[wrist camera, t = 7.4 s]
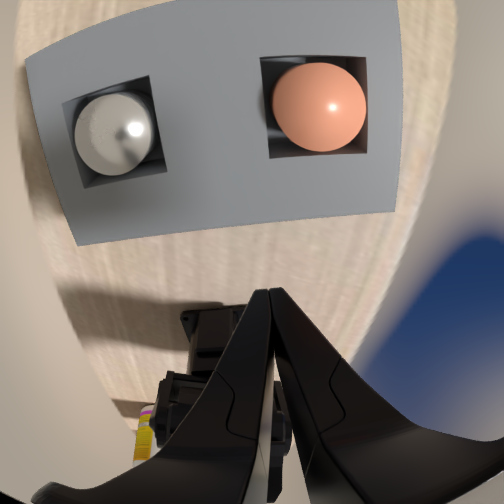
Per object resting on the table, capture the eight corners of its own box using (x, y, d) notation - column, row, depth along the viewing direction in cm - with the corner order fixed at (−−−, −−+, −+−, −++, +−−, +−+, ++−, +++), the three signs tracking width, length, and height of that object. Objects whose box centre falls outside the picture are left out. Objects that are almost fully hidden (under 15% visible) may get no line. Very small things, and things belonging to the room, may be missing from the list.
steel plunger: (170, 150, 16) (157, 167, 14) (107, 164, 16) (86, 182, 14) (157, 81, 14) (141, 84, 11) (92, 100, 14) (67, 108, 11)
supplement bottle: (141, 416, 38) (130, 490, 28) (140, 399, 35) (127, 484, 24) (183, 424, 40) (178, 499, 29) (189, 408, 36) (183, 494, 26)
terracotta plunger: (345, 135, 15) (365, 150, 13) (272, 139, 16) (278, 154, 13) (343, 64, 13) (364, 64, 11) (265, 65, 13) (270, 64, 11)
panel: (369, 184, 19) (394, 211, 16) (100, 215, 20) (77, 246, 16) (366, 9, 12) (396, -1, 9) (61, 56, 13) (24, 59, 9)
